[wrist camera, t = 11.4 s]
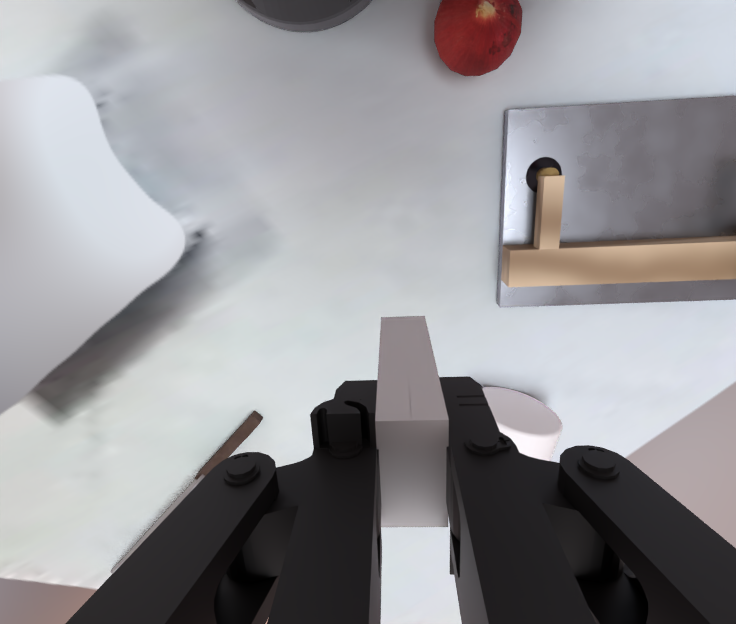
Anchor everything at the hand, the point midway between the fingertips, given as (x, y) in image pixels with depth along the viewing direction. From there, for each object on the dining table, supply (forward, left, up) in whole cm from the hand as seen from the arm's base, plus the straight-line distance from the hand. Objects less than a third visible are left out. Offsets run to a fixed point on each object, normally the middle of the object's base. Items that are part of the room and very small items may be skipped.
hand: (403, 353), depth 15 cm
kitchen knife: (+28, -25, -25) cm, 45 cm away
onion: (-15, +6, -25) cm, 29 cm away
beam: (-1, +21, -23) cm, 31 cm away
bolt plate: (-2, +21, -24) cm, 32 cm away
